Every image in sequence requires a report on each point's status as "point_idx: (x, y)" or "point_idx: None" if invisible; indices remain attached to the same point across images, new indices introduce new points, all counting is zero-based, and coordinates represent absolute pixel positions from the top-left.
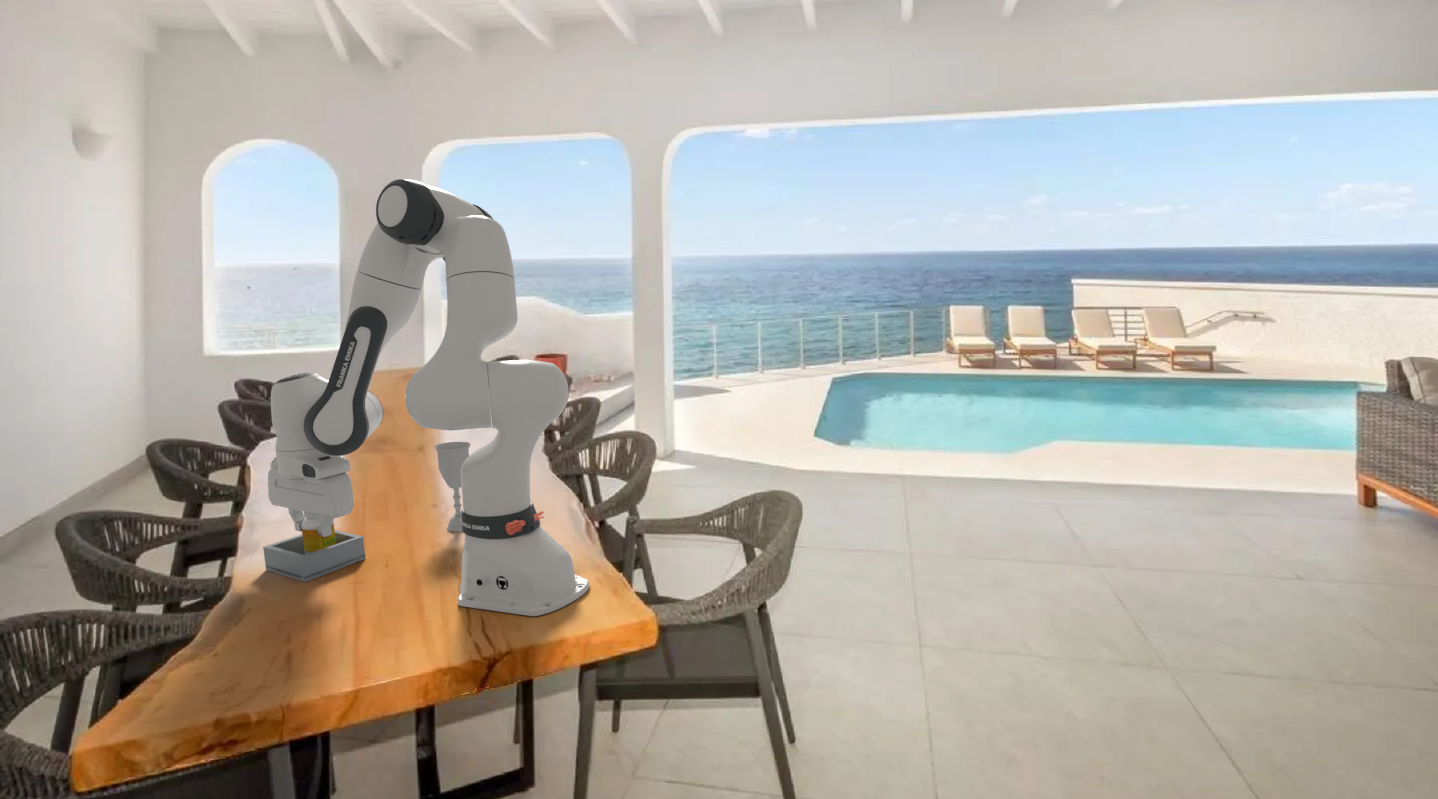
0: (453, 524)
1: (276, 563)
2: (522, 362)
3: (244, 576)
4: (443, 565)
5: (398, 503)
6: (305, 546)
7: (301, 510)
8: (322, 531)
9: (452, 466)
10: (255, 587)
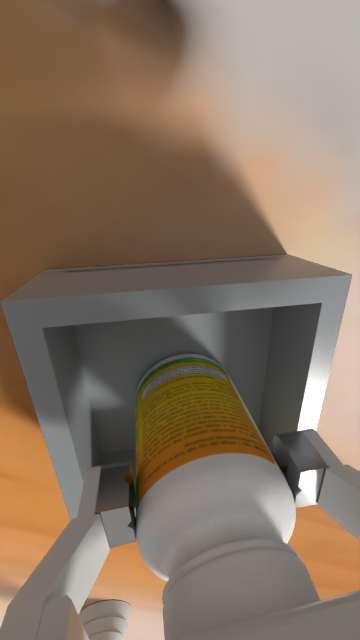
0: (94, 626)
1: (232, 267)
2: None
3: (310, 177)
4: None
5: (347, 582)
6: (198, 385)
7: (273, 624)
8: (81, 496)
9: None
10: (163, 129)
